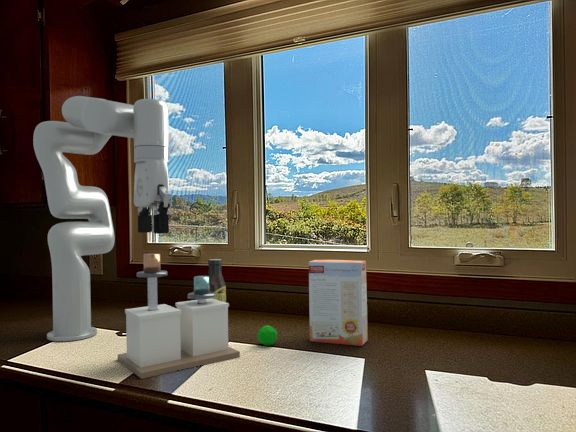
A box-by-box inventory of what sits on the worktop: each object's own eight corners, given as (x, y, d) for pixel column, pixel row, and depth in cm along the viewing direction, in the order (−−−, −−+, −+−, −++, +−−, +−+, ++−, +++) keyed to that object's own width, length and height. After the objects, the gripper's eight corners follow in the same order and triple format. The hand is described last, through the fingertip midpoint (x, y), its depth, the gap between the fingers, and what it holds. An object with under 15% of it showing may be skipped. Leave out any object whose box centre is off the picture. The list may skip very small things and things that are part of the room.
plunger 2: (183, 336, 111) (182, 276, 111) (208, 332, 114) (207, 274, 114) (195, 342, 105) (194, 279, 105) (221, 337, 109) (220, 276, 109)
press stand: (117, 359, 106) (116, 307, 106) (208, 342, 120) (207, 295, 120) (141, 378, 93) (140, 319, 93) (239, 356, 107) (238, 305, 107)
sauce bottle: (221, 329, 133) (220, 260, 133) (201, 328, 134) (200, 260, 134) (229, 324, 139) (228, 258, 139) (209, 323, 140) (208, 258, 140)
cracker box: (368, 341, 119) (367, 259, 119) (362, 347, 113) (361, 262, 113) (316, 336, 124) (315, 258, 124) (309, 341, 118) (307, 260, 118)
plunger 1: (133, 318, 103) (132, 254, 103) (161, 314, 107) (160, 252, 107) (143, 323, 98) (142, 256, 98) (172, 319, 102) (171, 254, 102)
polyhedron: (280, 343, 117) (280, 324, 117) (271, 348, 113) (271, 329, 113) (264, 341, 120) (263, 323, 120) (254, 346, 115) (253, 327, 115)
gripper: (122, 159, 107) (123, 232, 107) (149, 150, 94) (150, 234, 94) (153, 161, 112) (154, 231, 112) (183, 152, 98) (184, 233, 98)
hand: (152, 232), depth 103 cm, fingers open, 9 cm apart
